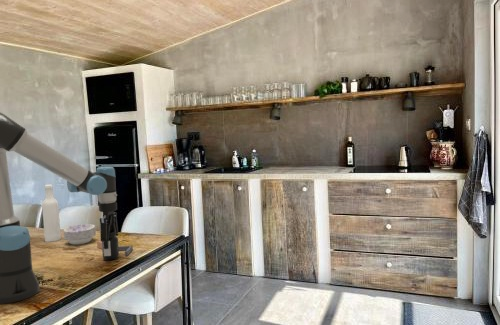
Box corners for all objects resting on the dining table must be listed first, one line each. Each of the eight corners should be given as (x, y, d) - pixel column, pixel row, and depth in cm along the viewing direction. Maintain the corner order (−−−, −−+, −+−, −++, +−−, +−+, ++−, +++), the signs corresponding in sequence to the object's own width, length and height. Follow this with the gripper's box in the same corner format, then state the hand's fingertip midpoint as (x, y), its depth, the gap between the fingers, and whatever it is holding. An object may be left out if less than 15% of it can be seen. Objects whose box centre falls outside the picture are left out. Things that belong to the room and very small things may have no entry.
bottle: (54, 242, 204) (49, 185, 202) (41, 242, 206) (36, 186, 204) (64, 238, 212) (60, 183, 210) (51, 237, 214) (47, 183, 211)
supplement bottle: (102, 261, 168) (100, 233, 167) (103, 256, 175) (101, 230, 174) (118, 259, 170) (117, 232, 169) (119, 254, 177) (118, 228, 176)
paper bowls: (69, 248, 192) (67, 232, 191) (61, 242, 204) (59, 227, 203) (100, 242, 201) (99, 227, 201) (91, 236, 213) (89, 222, 213)
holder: (136, 244, 193) (136, 238, 193) (127, 255, 175) (127, 249, 175) (98, 246, 192) (97, 240, 192) (85, 258, 174) (84, 251, 174)
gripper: (107, 205, 161) (110, 260, 162) (123, 197, 180) (126, 246, 182) (89, 206, 161) (92, 260, 162) (107, 198, 180) (110, 246, 182)
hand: (110, 253), depth 172 cm, fingers closed on supplement bottle, 7 cm apart
